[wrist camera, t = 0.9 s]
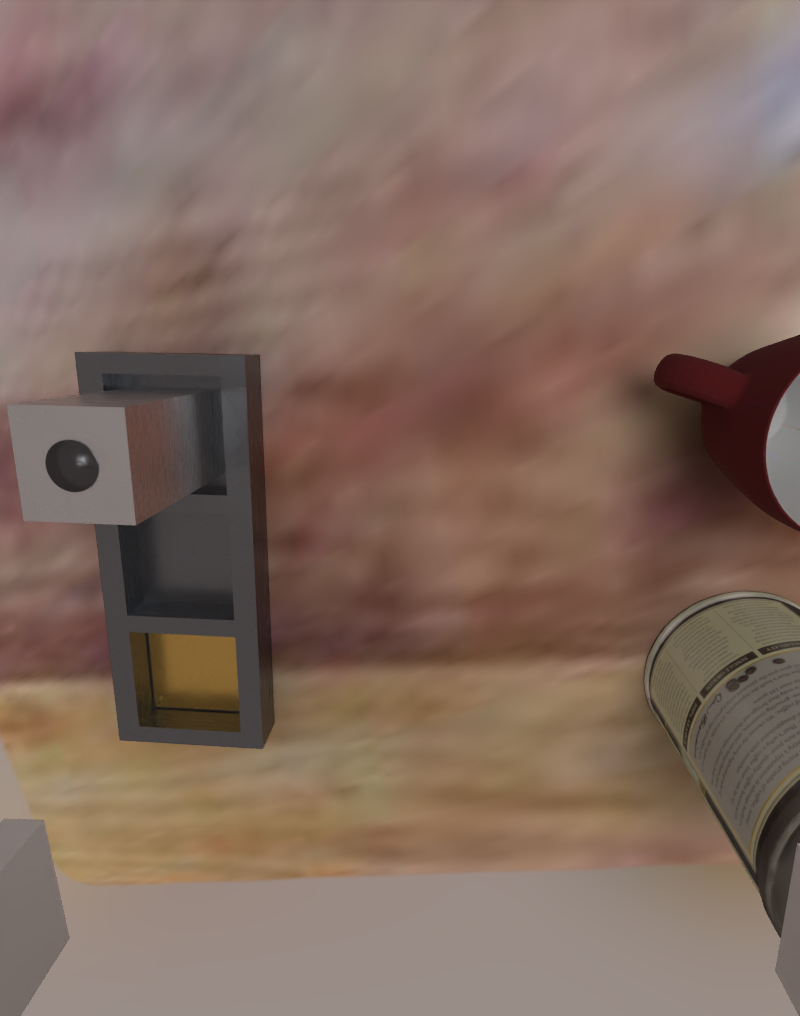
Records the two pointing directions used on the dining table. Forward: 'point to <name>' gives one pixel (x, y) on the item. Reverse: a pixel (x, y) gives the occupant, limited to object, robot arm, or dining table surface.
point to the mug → (749, 420)
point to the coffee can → (738, 724)
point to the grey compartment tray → (192, 573)
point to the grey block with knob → (115, 452)
